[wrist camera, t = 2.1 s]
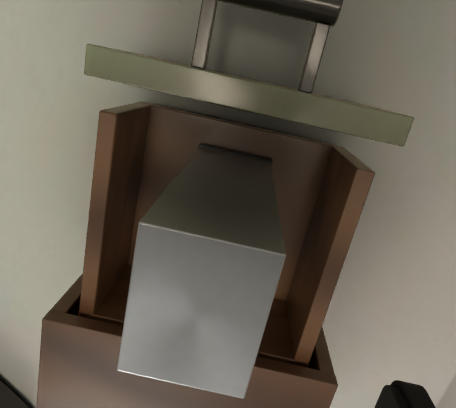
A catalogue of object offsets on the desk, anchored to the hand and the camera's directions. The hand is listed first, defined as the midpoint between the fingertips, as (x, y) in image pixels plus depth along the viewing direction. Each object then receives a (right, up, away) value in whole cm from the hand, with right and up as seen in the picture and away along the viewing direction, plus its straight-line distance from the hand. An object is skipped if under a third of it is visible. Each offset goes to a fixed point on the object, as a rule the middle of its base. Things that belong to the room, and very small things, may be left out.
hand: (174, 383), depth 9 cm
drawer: (+2, +7, +14) cm, 16 cm away
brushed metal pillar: (+1, +5, +14) cm, 15 cm away
